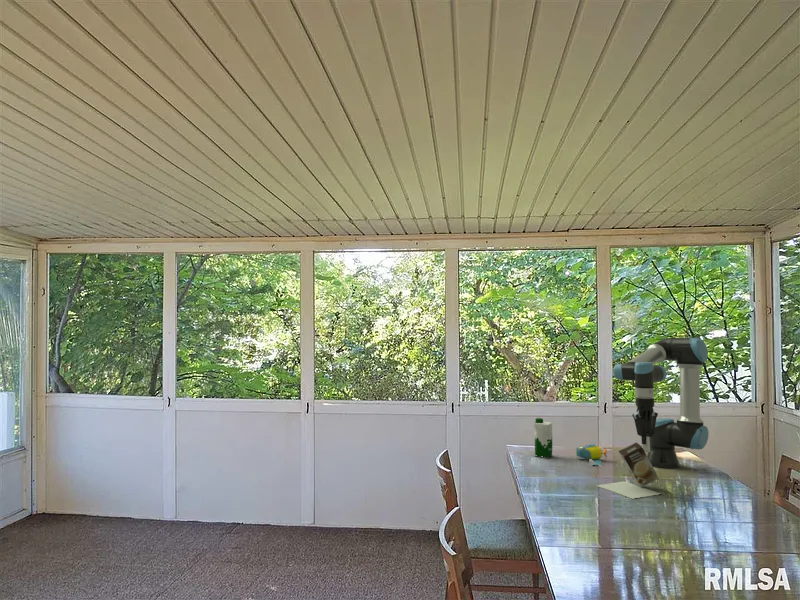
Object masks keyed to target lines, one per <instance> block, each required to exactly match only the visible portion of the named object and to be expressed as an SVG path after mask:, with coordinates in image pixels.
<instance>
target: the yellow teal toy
mask: <svg viewBox="0 0 800 600" xmlns="http://www.w3.org/2000/svg"><path fill="white" fill-rule="evenodd" d="M575 450H576V451H575V452H576V454H575V455H576V457H578V458H583V459H586V460H588V459H592V460H593V461H594V462H595V463H596V464H593V465H595V466H594V467H599V466H598V464H600V465H603V466H604V464H603V462H602V460H601V458H602V456H603V455H604V456H605V457H606V458H607V457H608V456H607V452H608V449H606V447H605V448H604V449H603V451H602V448H601V446H597V445H596V444H595V443H594V444H592V443H591V444H586V445H584V446H583V445H581V446H579V447H576V448H575Z"/></svg>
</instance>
